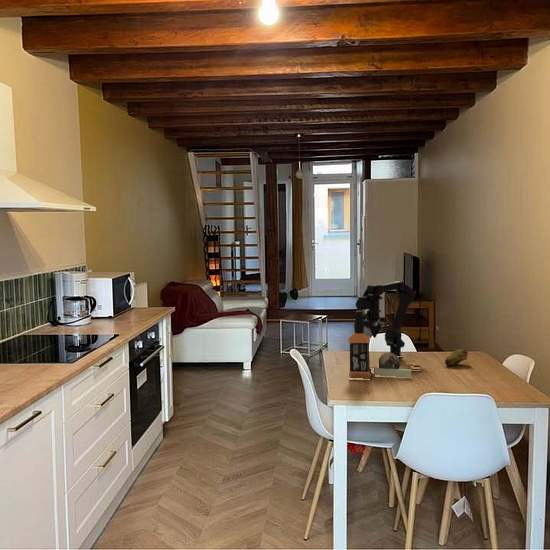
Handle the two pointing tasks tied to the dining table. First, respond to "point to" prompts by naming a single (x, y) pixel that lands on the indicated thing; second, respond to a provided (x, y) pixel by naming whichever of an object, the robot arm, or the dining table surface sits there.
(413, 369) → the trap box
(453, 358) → the olive brown frog figurine
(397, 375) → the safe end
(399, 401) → the dining table surface
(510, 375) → the dining table surface
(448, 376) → the dining table surface
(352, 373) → the whiskey bottle
